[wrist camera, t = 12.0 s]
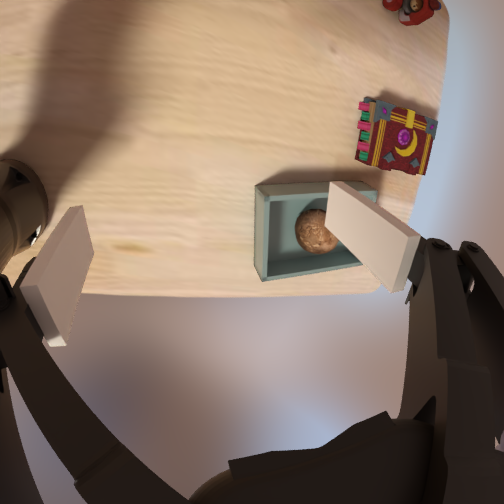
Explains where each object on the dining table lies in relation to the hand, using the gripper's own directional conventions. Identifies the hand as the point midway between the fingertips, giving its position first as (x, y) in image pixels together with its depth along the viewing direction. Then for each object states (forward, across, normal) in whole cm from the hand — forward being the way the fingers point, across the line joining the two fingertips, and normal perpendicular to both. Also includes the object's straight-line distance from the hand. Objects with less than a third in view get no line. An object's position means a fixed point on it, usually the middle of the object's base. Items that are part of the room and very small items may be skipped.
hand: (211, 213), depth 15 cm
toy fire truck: (+29, +36, +28) cm, 54 cm away
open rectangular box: (+28, +20, -16) cm, 38 cm away
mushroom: (+28, +20, -16) cm, 38 cm away
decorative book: (+29, +35, 0) cm, 45 cm away
